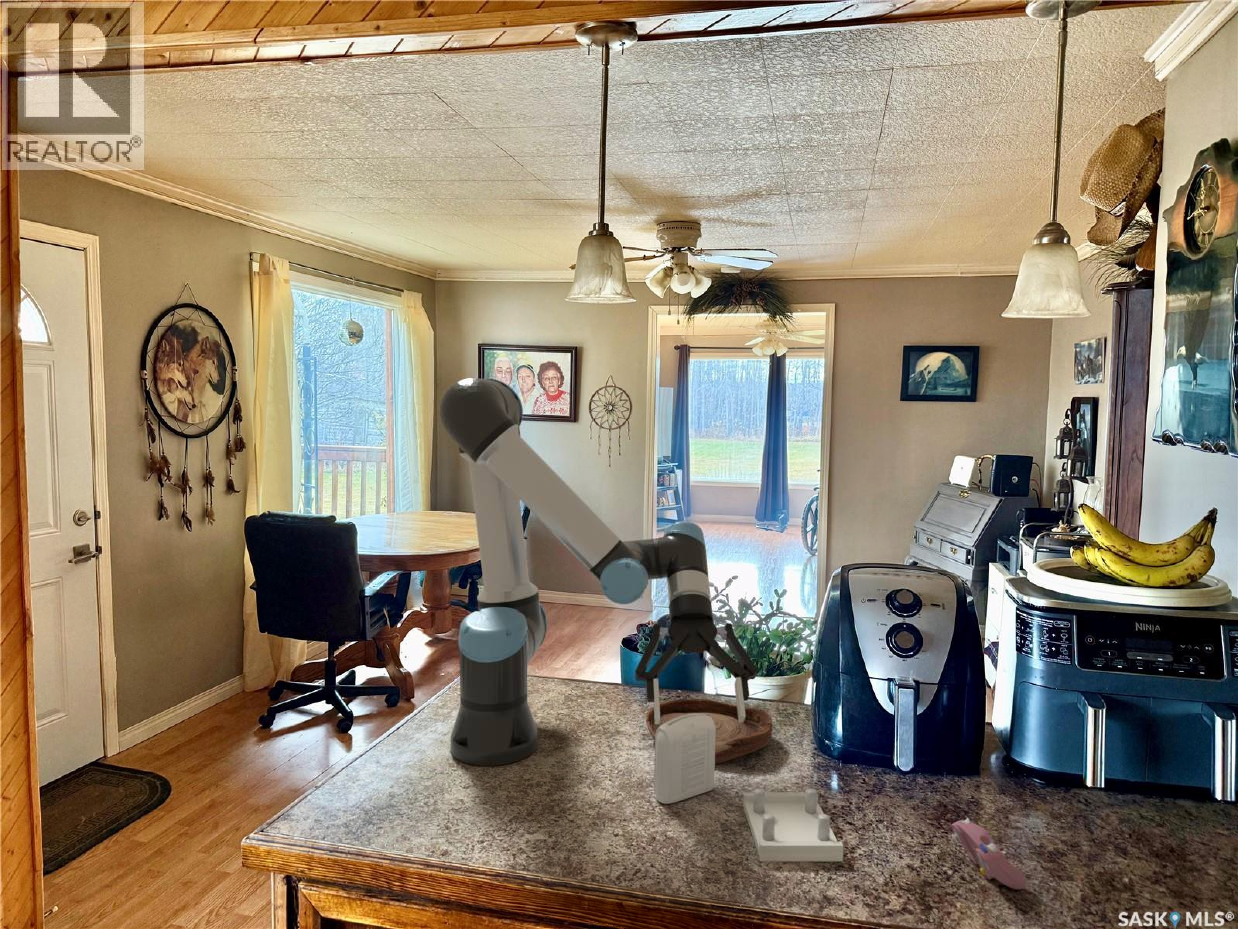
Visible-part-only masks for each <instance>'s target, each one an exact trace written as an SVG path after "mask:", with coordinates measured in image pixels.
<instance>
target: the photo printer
mask: <svg viewBox="0 0 1238 929" xmlns="http://www.w3.org/2000/svg"><path fill="white" fill-rule="evenodd" d="M715 734H716V729H715V724H714V722H713V719H712V718H711V717H709V716H707V715H705V714H698V713H695V714H687V715H682V716H679V717H676V718H674V719H671V720H669V721H668V722H666V723H664V724H663V725H661V726H660V727H659V728H658V729H657V730H656V733H655V740H654V758H653V760H654V762H653V763H654V765H653V767H654V769H653V770H654V771H653V774H654V775H653V793H654V795H655V799H656V800H657V802H659V803H662V804H673V803H678V802H680V801H684V800H686V799H689V798H692V797H696V796H698V795H701V794H704V793H707V792H710V791H711V790H713V789H714V788H715V769H716V768H715Z"/></svg>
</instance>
